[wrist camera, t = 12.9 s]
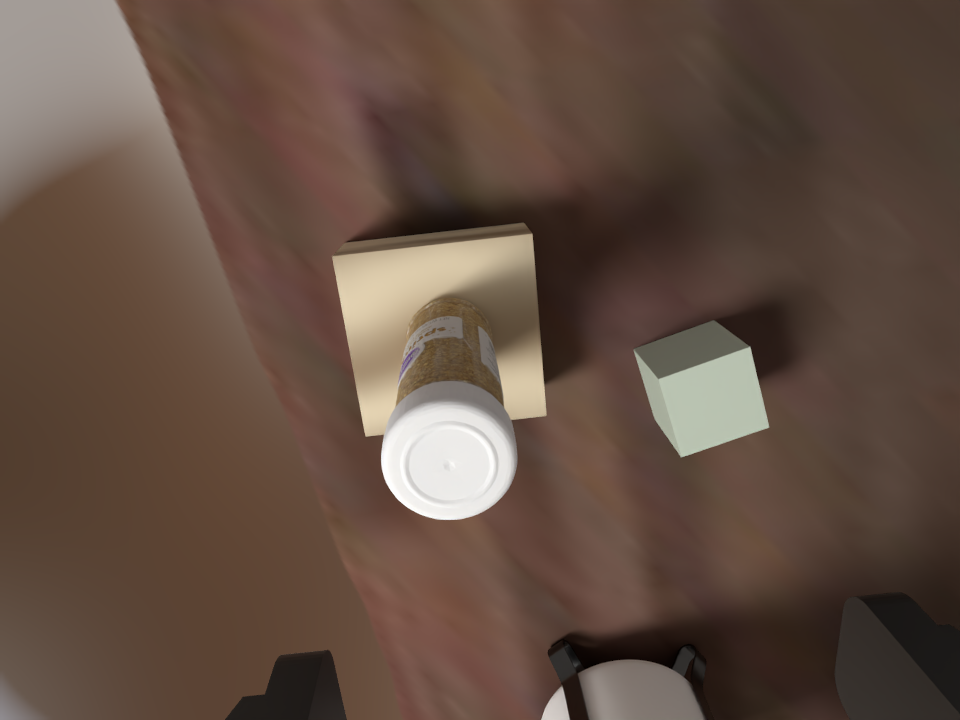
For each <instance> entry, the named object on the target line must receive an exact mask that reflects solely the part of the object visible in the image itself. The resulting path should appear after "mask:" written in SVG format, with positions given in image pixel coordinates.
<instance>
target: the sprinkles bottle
mask: <svg viewBox="0 0 960 720" xmlns="http://www.w3.org/2000/svg"><path fill="white" fill-rule="evenodd" d="M492 340H493V339H492V332H491V327H490V325H489V322H488V320H487V319H486V317H485V316H484V315H483V313H482V312H481V311H480V310H479V309H478V308H476V307H475V306H474V305H472V304H471V303H470V302H468V301H465V300H462V299H457V298H444V299H438V300H435V301H432V302H430V303H428V304H426V305H425V306H423V307H422V308H421V309H420V310H419V311H418V312H417V313H416V314H415V315H414V316H413V317H412V319H411V321H410V322H409V325H408V329H407V333H406V347H405V350H404V354H403V359H402V365H401V371H400V375H399V381H398V387H397V389H398V394H397V400H396V406H395V409H394V410H393V412H392V414H391V416H390V418H389V420H388V423H387V426H386V430H385V435H384V439H383V445H382V452H381V464H382V471H383V474H384V478H385V481H386V483H387V485H388V486H389V488H390V490H391V491H392V493H393V494H394V495H395V497H396V498H397V499H398V500H399V501H400V502H401V503H403V504H404V505H405V506H406V507H408V508H409V509H411V510H413V511H415V512H416V513H418V514H421V515H423V516H426V517H430V518H435V519H441V520H456V519H463V518H467V517H471V516H474V515H477V514H479V513H481V512H483V511H485V510H487V509H488V508H490V507H491V506H493V505H494V504H495V503H496V502H497V501H498V500H499V499H500V498H501V497H502V496H503V495H504V494H505V493H506V491H507V490H508V488H509V487H510V485H511V483H512V481H513V478H514V475H515V472H516V467H517V447H516V440H515V434H514V429H513V425H512V422H511V419H510V417H509V415H508V413H507V412H506V410H505V408H504V396H503V390H502V385H501V380H500V374H499V369H498V364H497V360H496V355H495V350H494V347H493V344H492Z"/></svg>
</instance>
